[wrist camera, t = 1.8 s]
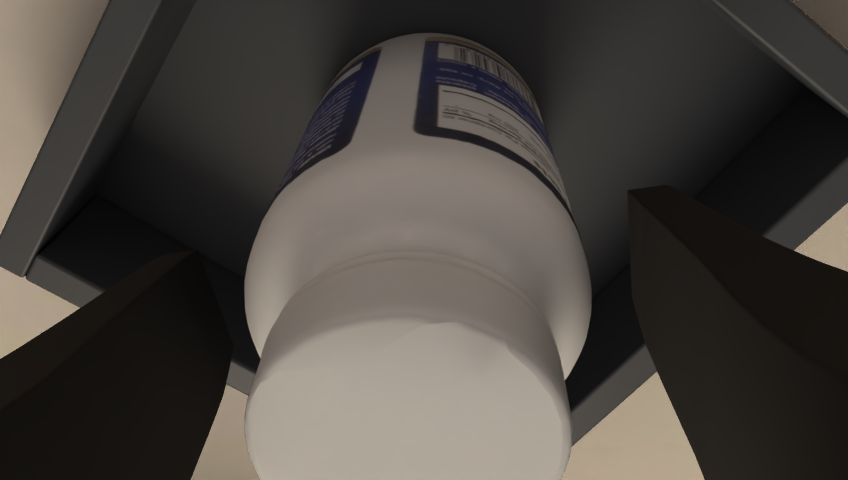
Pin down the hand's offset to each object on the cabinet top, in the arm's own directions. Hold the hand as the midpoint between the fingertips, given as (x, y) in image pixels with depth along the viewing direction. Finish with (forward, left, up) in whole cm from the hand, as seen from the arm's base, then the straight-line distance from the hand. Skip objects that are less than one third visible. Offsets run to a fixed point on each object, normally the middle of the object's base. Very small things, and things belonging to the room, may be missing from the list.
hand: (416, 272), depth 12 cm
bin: (0, 0, -6) cm, 6 cm away
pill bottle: (0, 0, -6) cm, 6 cm away
